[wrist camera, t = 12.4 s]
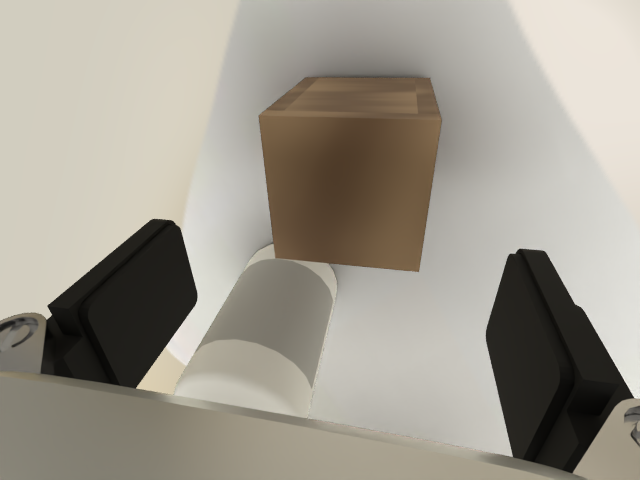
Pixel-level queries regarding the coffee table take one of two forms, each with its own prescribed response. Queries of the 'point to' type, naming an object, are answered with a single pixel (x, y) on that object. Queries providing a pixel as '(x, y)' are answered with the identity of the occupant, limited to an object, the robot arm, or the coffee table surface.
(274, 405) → the spray bottle
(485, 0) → the coffee table surface
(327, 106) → the tan wooden cube
